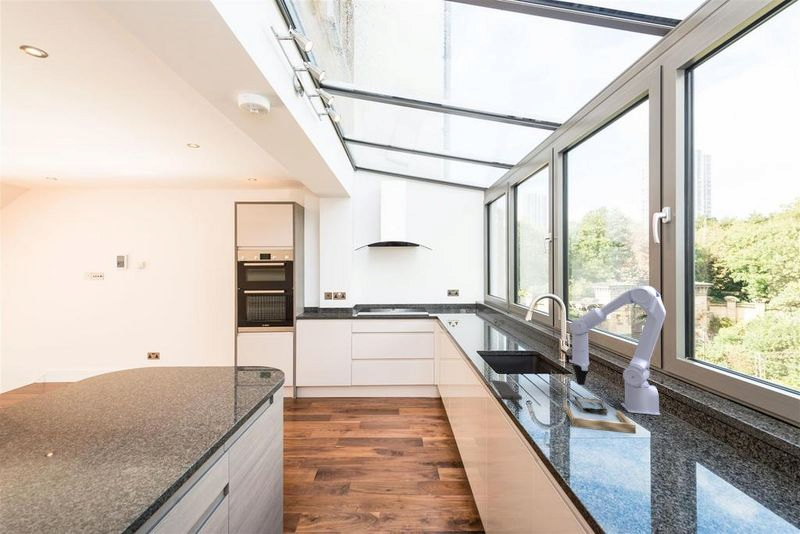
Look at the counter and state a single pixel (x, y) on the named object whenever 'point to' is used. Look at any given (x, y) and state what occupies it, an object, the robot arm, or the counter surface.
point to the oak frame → (603, 423)
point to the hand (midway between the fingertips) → (580, 384)
